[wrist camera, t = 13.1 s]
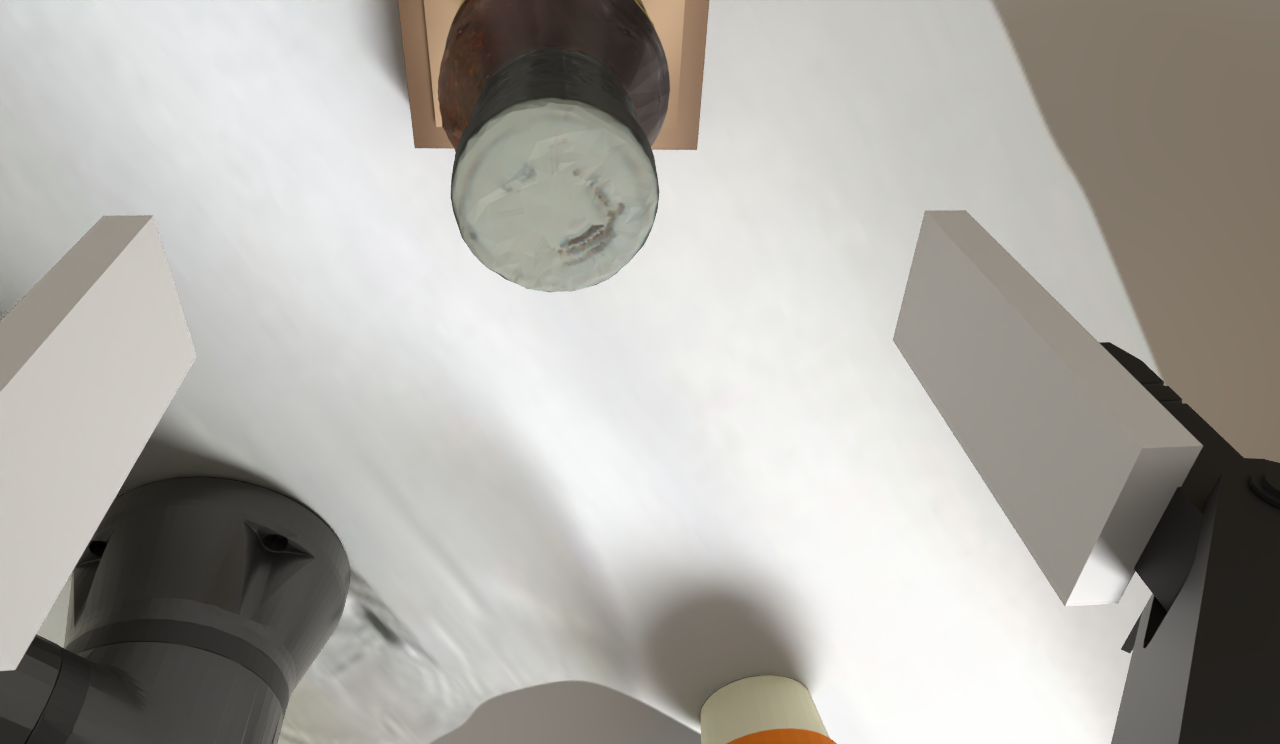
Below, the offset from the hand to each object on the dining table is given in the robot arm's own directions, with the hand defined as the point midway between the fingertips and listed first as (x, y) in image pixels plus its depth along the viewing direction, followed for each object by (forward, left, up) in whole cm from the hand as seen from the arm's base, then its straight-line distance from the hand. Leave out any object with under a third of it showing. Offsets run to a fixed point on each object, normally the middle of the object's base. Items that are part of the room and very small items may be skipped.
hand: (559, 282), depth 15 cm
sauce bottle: (0, 0, -22) cm, 22 cm away
